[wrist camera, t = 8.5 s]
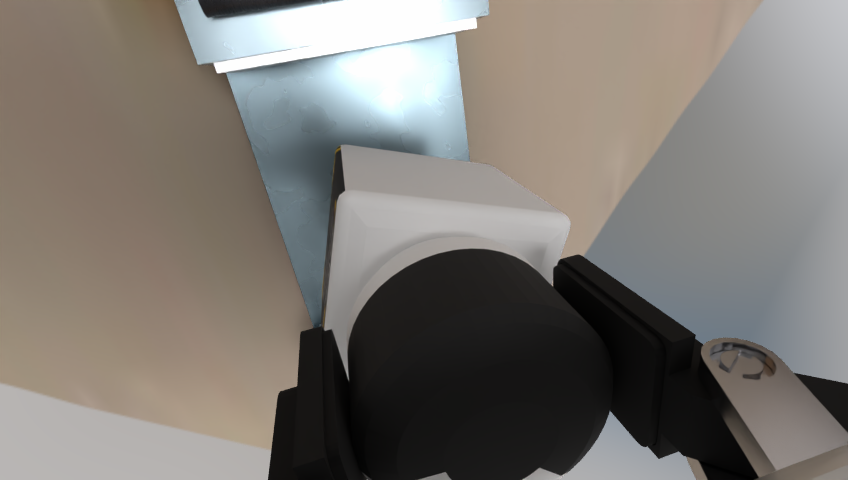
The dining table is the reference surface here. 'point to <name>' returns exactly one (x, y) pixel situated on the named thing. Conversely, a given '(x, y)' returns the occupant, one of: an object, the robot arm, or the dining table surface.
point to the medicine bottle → (456, 323)
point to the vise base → (344, 130)
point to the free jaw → (313, 27)
